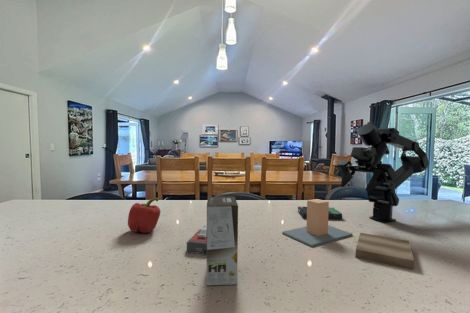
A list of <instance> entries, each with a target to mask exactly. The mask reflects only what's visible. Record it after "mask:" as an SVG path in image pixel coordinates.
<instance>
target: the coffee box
mask: <svg viewBox="0 0 470 313" xmlns="http://www.w3.org/2000/svg"><path fill="white" fill-rule="evenodd" d="M206 226H207V254H206V285H207V286H227V285H230V286H231V285H232V286H233V285H237V284H238V255H239V254H238V251H239V250H238V249H239V248H238V247H239V246H238V244H239V239H238V238H239V204H238V201H237V199H236V196H209V197H207V202H206Z"/></svg>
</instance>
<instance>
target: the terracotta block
mask: <svg viewBox="0 0 470 313" xmlns="http://www.w3.org/2000/svg"><path fill="white" fill-rule="evenodd" d="M329 206H330V202H329V201H327V200H323V199H319V198H314V199H308V200H307V202H306V207H307V219H306V226H307V232H308V233H311V234H313V235H316V236H321V235H325V234H328V225H329V219H328V212H329V208H330V207H329Z"/></svg>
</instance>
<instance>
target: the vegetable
mask: <svg viewBox="0 0 470 313" xmlns="http://www.w3.org/2000/svg"><path fill="white" fill-rule="evenodd" d="M159 200H160V199H159V197H153V198H150V199H149V200H148V201H147V202H146V203H139V202H136V203H135V202H134V203H133V204H132V206H130V209H129V212H128V218H127V226H128V228H129V230H130V231H131V232H141V234H148V233H151V232H153V231H154V230H155V228H156V226H157V224H158V221H159V219H160V215H161V209H160V207H159V206H158V205H154V204H153V205H151V204H152V203H153V202H155V201H156V202H159Z"/></svg>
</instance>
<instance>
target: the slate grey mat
mask: <svg viewBox="0 0 470 313" xmlns="http://www.w3.org/2000/svg"><path fill="white" fill-rule="evenodd" d="M281 233H282V235H284V236H287V237H289V238H291V239H293V240H296V241H297V242H299V243H302V244H304V245H305V246H308V247H310V248H313V247H316V246H317V247H318V246H320V245H323V244H326V243H327V244H328V243H331V242H334V241H338V240H342V239H345V238H348V237H352V236H353V233H352V232H349V231H347V230H344V229H340V228H336V227H334V226H331V225H329V224H328V234H325V235H321V236H316V235H313V234H311V233H308V232H307V225H306V226H302V227H297V228H292V229H288V230H284V231H282V232H281Z"/></svg>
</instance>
